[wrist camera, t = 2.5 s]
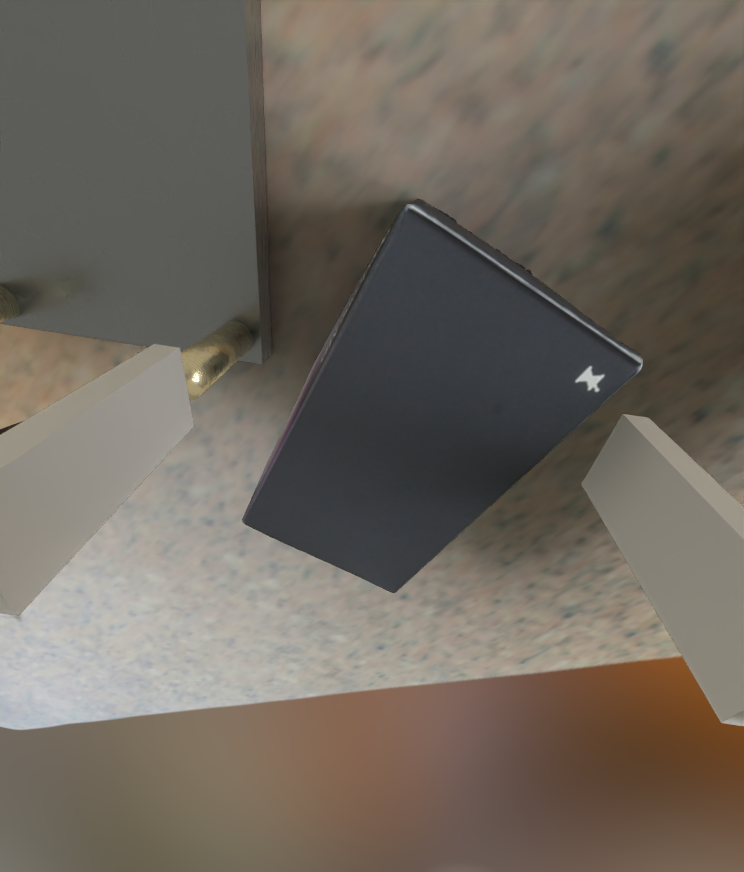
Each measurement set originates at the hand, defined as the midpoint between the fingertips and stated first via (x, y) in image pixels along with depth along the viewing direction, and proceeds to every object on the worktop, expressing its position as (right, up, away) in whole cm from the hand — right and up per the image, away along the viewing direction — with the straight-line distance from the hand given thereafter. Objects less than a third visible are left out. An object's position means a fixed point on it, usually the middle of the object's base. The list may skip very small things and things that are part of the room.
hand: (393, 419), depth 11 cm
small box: (+1, +5, +7) cm, 9 cm away
